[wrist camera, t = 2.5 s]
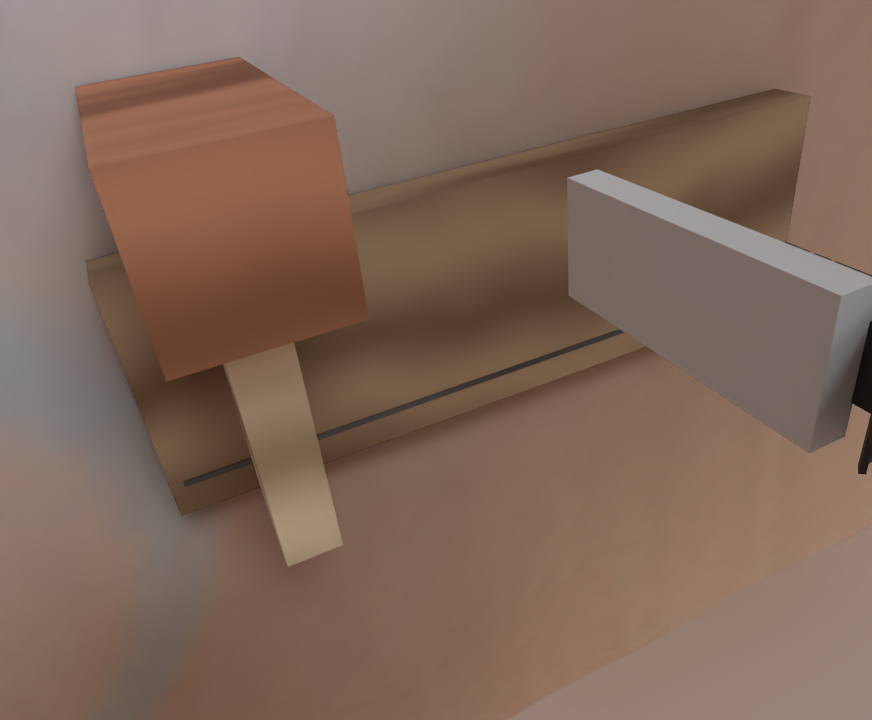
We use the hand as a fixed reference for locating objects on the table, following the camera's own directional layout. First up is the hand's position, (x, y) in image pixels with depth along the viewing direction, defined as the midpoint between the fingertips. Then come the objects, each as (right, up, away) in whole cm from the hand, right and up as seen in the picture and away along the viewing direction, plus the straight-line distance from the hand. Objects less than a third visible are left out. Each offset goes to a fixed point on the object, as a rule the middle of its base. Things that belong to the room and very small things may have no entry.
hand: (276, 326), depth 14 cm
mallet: (-5, +2, +13) cm, 14 cm away
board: (+5, +3, +18) cm, 19 cm away
